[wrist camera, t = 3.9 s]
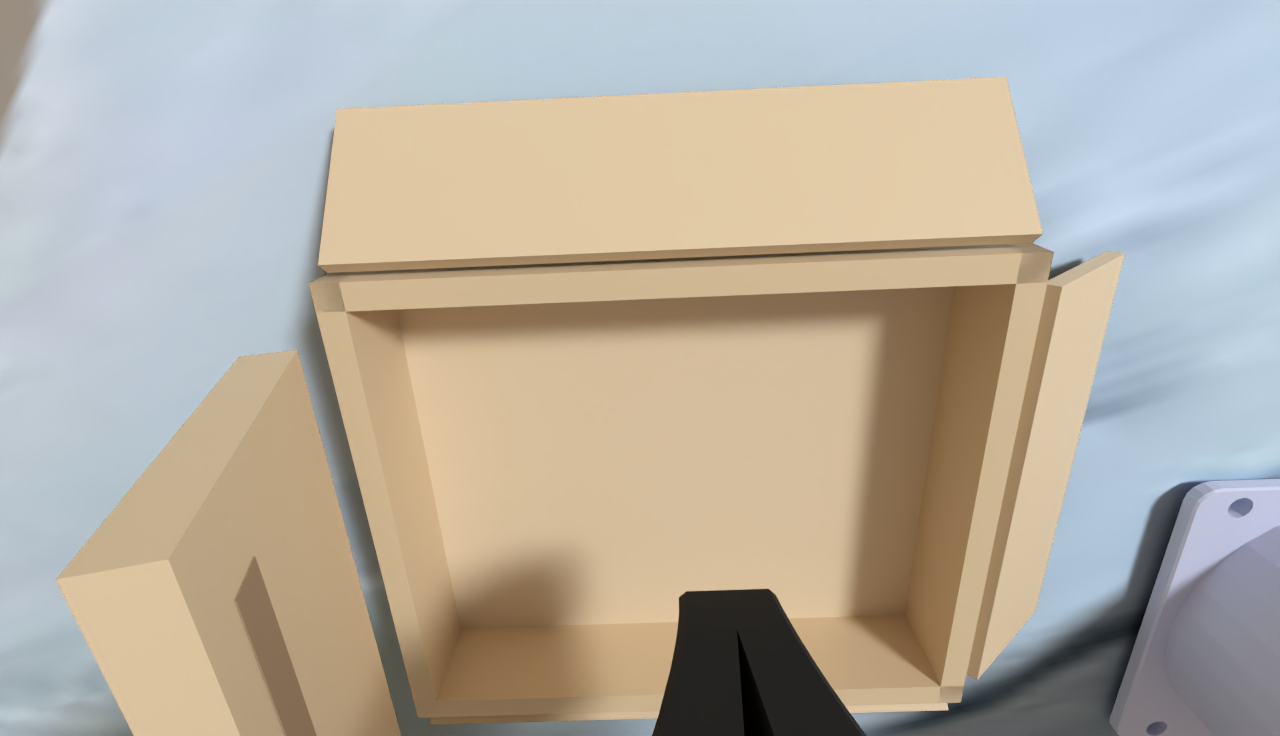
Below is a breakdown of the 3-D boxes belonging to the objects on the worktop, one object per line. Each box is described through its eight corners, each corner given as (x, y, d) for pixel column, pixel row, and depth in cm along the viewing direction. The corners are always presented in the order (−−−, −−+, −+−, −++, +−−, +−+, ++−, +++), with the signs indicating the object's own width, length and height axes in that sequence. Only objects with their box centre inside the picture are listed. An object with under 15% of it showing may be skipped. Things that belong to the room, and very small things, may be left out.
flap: (170, 559, 5) (52, 580, 5) (379, 1073, 9) (312, 1097, 9) (298, 349, 10) (237, 357, 10) (404, 744, 13) (360, 755, 13)
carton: (1149, 70, 12) (1274, 65, 9) (1001, 688, 18) (1055, 778, 15) (338, 108, 12) (265, 113, 10) (463, 704, 18) (437, 794, 16)
